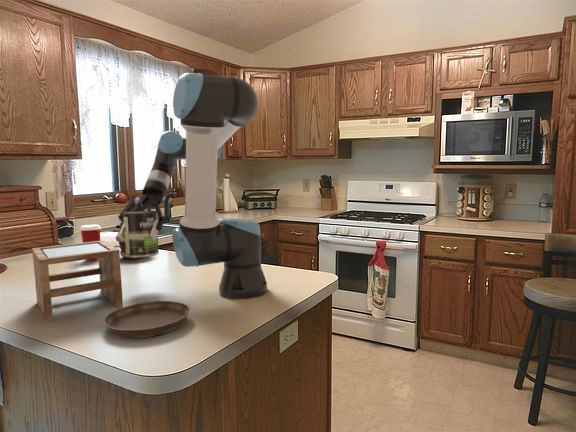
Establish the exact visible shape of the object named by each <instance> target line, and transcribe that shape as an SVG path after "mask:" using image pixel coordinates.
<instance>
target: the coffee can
mask: <svg viewBox="0 0 576 432" xmlns="http://www.w3.org/2000/svg"><path fill="white" fill-rule="evenodd" d="M123 216H124V231H125V246H126V257H130V258H139V259H143V258H149V257H155V256H157V255H159V254H160V252H159V237H158V235H159V234H157V237H156V240H153V239H152V238H151V236H150V233H151V231H152V228H153V225H154V222H155V220H156V219H158V216H157V211H156V210H144V211H130V212H124V213H123ZM142 257H143V258H142Z"/></svg>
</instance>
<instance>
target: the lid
mask: <svg viewBox="0 0 576 432" xmlns="http://www.w3.org/2000/svg"><path fill="white" fill-rule="evenodd" d="M105 250H107V249H105V248H104V247H102V246H101V245H99V244H98V243H95V244H87V245H78V246H69V247H60V248H52V249H43V250H42V252H43V253H44V255H45V256H46V257H47V258H50V257H58V256H65V255H73V254H81V253H89V252H97V251H105Z"/></svg>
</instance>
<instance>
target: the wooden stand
mask: <svg viewBox="0 0 576 432" xmlns="http://www.w3.org/2000/svg"><path fill="white" fill-rule="evenodd" d="M95 243H98V244H99V245H101V246H102V247H104V248H105V249H107V250H105V251H97V252H89V253H81V254H73V255H65V256H58V257H50V258H47V257H46V256H45V255H44V253H43V252H42V250H43V249H52V248H60V247H69V246H78V245H87V244H95ZM31 250H32V251H31V253H32V260H33V261H32V262H33V270H34V271H33V272H34V281H35V283H34V284H35V291H36V303H37V305H38V307H39V310H40V313H41V315H42V317H43V319H44V322H51V321H53V320H54V316H53V315H54V314H53V304H52V298H57V297H64V296H69V295H76V294H81V293H86V292H87V293H88V292H91V291H97V290H98V291H99V290H100V292H101V293H102V294H103V296H105V297H106V298H107V299H108V300H109V301H110V302H111V304H113V305H114V306H115V308H120V307H124V302H123V301H124V300H123V286H122V272H121V271H122V269H121V257H120V256H121V254H120V249H118V248H116V247H113V246H112V245H110V244H108V243H107V242H105V241H94V242H85V243H83V242H78V243H69V244H59V245H51V246H43V247H34V248H33V247H32V248H31ZM94 258H98V260H97V261H98V267H92V268H87V269H79V270H73V271H67V272H65V271H64V272H59V273H53V274H50V272H49V271H50V270H49V265H55V264H63V263H64V264H65V263H70V262H71V263H72V262H79V261H85V260H87V259H94ZM95 275H99V281H94V282H87V283H81V284H75V285H70V286H68V285H67V286H63V287H57V288H56V287H55V288H52V289H51V282H52V283H53V282H58V281H65V280H71V279H77V278H83V277H91V276H95Z"/></svg>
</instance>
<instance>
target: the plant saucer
mask: <svg viewBox="0 0 576 432" xmlns="http://www.w3.org/2000/svg"><path fill="white" fill-rule="evenodd" d="M190 310H191V309H190V307H189V306H188V305H187V304H185V303H183V302H177V301H170V300H157V301H146V302H145V301H144V302H140V303H136V304H130V305H128V306H123V307H121V308H118V309H116V310H114V311H112V312H110V313H107V315H106V316H105V317H104V319H103V324H104V326H105V327H106V329H108V331H110V332H112V333H113V334H115V335H117V336H119V337H123V338H128V339H130V338H131V339H140V338H141V339H142V338H149V337H155V336H159V335H164V334H166V333H168V332H169V333H170V332H171V331H173V330H175V329H177V328H178V327H179V326H181V325H182V323H184V322H185V321H186V319H187V317H188V316H189V314H190Z"/></svg>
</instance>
